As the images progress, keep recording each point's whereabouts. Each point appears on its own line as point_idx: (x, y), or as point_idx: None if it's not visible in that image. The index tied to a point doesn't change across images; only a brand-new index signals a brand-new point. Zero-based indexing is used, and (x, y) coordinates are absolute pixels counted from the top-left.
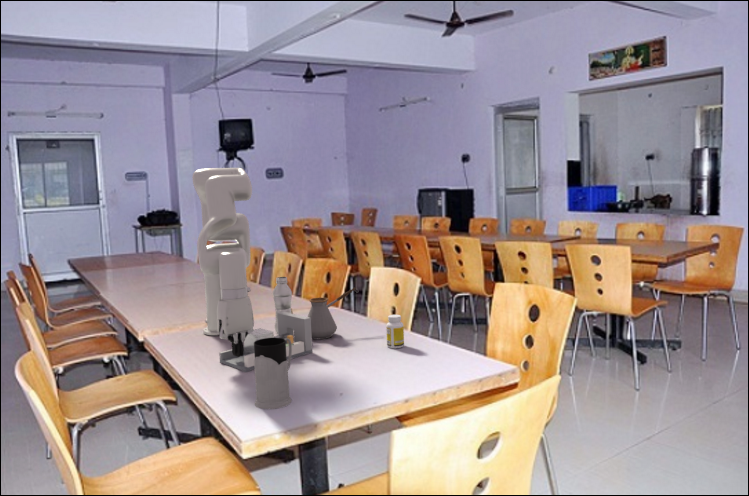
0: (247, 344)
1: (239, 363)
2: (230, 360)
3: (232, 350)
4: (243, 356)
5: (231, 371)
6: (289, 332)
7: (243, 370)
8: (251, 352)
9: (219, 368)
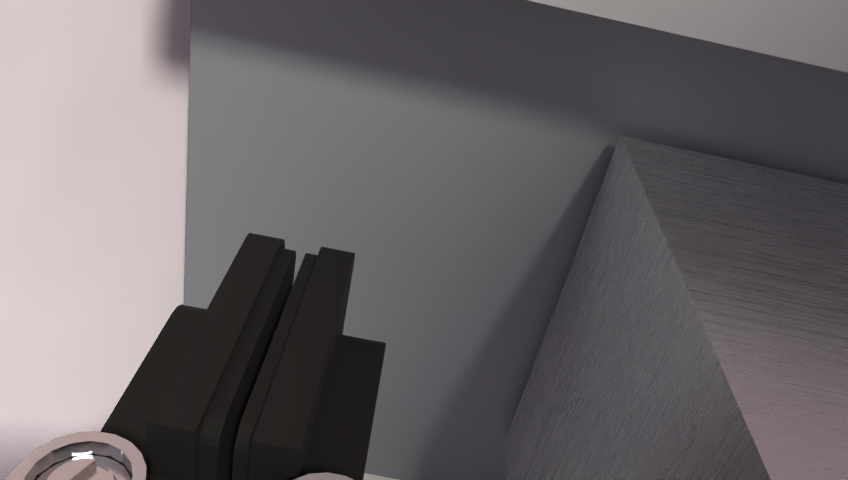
0: (615, 379)
1: None
2: (272, 105)
3: (161, 347)
4: (564, 140)
5: (93, 328)
6: None
7: None
8: (556, 375)
9: (36, 97)
